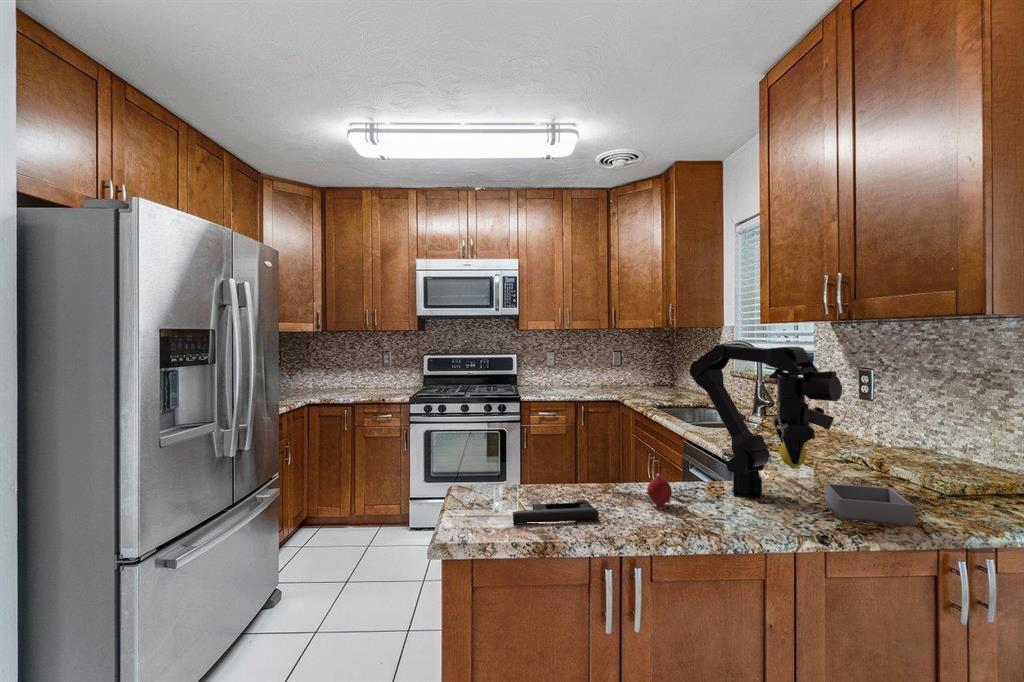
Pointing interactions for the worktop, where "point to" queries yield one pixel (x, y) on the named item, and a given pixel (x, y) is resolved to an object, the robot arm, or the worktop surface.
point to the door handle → (557, 512)
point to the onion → (659, 490)
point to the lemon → (786, 456)
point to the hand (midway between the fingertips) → (793, 461)
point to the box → (869, 504)
